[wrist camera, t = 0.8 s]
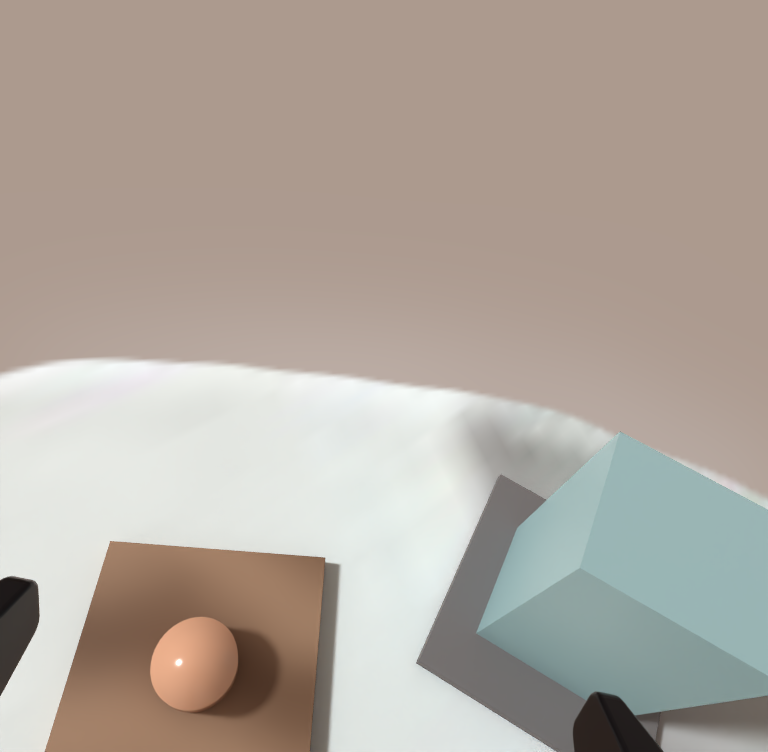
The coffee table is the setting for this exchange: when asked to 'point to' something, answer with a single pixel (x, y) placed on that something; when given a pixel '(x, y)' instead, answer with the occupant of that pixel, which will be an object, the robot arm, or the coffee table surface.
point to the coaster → (171, 606)
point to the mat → (486, 660)
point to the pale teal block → (639, 585)
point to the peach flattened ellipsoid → (194, 664)
